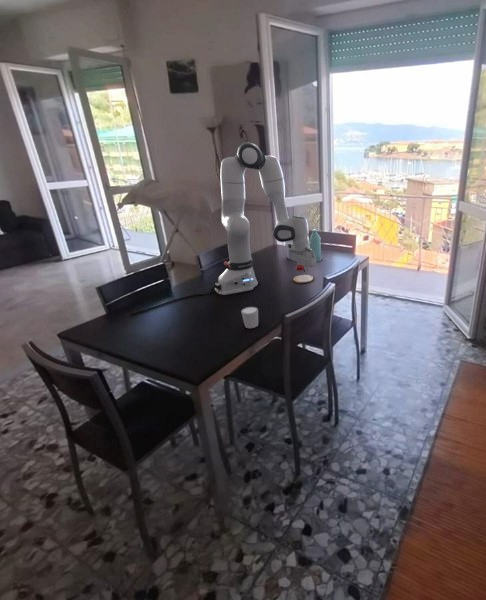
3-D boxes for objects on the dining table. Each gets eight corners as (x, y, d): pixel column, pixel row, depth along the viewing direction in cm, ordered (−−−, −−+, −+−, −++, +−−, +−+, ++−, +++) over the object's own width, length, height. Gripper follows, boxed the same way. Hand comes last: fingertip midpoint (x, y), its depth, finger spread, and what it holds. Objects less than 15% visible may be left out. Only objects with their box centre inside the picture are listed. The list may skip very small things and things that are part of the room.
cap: (299, 267, 194) (298, 264, 194) (305, 268, 192) (305, 265, 192) (295, 270, 191) (294, 267, 190) (301, 271, 189) (301, 267, 188)
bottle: (314, 262, 222) (312, 231, 213) (309, 259, 227) (307, 229, 218) (323, 260, 225) (321, 229, 217) (317, 257, 230) (316, 227, 222)
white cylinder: (253, 319, 154) (250, 305, 151) (263, 324, 150) (261, 309, 147) (240, 325, 149) (237, 311, 146) (250, 330, 145) (248, 315, 142)
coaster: (299, 285, 188) (299, 283, 188) (289, 279, 197) (289, 277, 196) (317, 280, 194) (317, 278, 194) (307, 274, 202) (307, 273, 202)
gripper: (318, 248, 182) (319, 273, 188) (295, 241, 196) (297, 265, 202) (308, 251, 178) (310, 277, 184) (285, 243, 193) (288, 267, 198)
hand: (303, 270), depth 193 cm, fingers closed on cap, 3 cm apart
